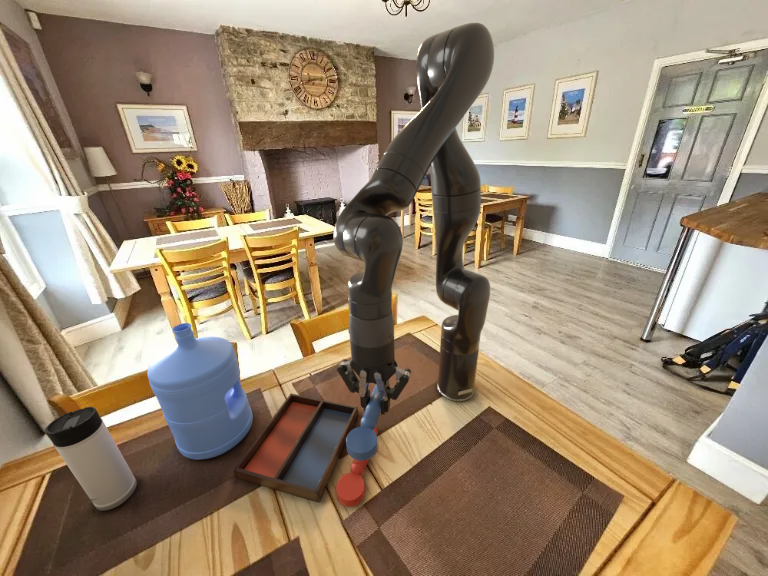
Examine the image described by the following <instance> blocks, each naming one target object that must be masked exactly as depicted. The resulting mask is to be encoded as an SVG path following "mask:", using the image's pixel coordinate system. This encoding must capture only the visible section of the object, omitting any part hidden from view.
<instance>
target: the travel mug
mask: <svg viewBox="0 0 768 576" xmlns="http://www.w3.org/2000/svg"><path fill="white" fill-rule="evenodd" d="M44 432H45V434H46V435H47V437H48V439H49V440H50V441H51V443H52V445H53V447H54V448H55V449H56V451H57V453H58V454H59V456H60V457H61V458H62V460H63V461H64V463H65V465H66V466H67V467H68V469H69V470H70V472H71V473H72V475H73V476H74V477H75V479H76V481H77V482H78V483H79V485H80V487H81V488H82V489H83V491H84V492H85V494H86V496H87V497H88V498H89V500H90V501H91V503H92V504H93V506H94V507H95V508H96V510H98V511H101V512H103V511H104V512H105V511H110V510H112V509H115V508H117V507H119V506H120V505H122V504H124V502H126V501H127V500H128V499H129V498H130V497H131V496H132V495H133V493H134V492H135V490H136V488H137V486H138V485H137V484H138V483H137V479H136V477H135V476H134V474H133V472H132V469H131V468H130V467H129V465H128V463H127V461H126V460H125V458H124V456H123V454H122V453H121V451H120V449H119V446H118V445H117V443H116V442H115V439H114V438H113V436H112V435H111V433H110V431H109V429H108V427H107V425H106V423H105V422H104V420H103V419H102V417H101V416H100V414H99V412H98V411H97V409H96V407H95V406H85V407H84V408H80V409H76V410H74V411H69V412H66V413H64V414H62V415H60V416H58V417H56V418H55V419H54V420H52V421H51V422H50V423H49V424H47V426H46V427H45V429H44Z"/></svg>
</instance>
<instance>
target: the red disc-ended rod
mask: <svg viewBox="0 0 768 576" xmlns="http://www.w3.org/2000/svg"><path fill="white" fill-rule="evenodd" d="M374 431H375V433H376V435H377V436H378V434H379V431H378V427H377V426H376V427H375V429H374ZM368 462H369V459H367V460H364V461H359V460H355V459H353V460H352V463H351V465H350V468H349V469H350V470H349V471H350V472H348V473H345V474H343V475H342V476H341V477H339V479H338V481H337V483H336V487H335V490H336V497H337V500H338V502H339V504H341V505H343V506H344V507H351V508H352V507H355V506H358V505H359V504H360V503H361V502H362V501H363V499H364V498H365V495H366V487H365V481H364V478H363V477H362V476H363V475H364V473H365V471H366V467H367V465H368Z"/></svg>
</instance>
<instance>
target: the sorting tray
mask: <svg viewBox="0 0 768 576" xmlns="http://www.w3.org/2000/svg"><path fill="white" fill-rule="evenodd" d="M358 417H359V407H358V406H356V405H351V404H345V403H340V402H336V401H330V400H326V399H321V398H316V397H311V396H306V395H301V394H295V393H290V394H289V395H288V396H287V398H286V399H285V401H284V402H283V403H282V404H281V406H280V407H279V408H278V410H277V411H276V413H274V415H273V416H272V417H271V419H270V420H269V422H268V423H267V424H266V425H265V427H264V428H263V429H262V431H261V432H260V434H258V436H257V437H256V439H255V440H254V441H253V442H252V444H251V445H250V446H249V448H248V449H247V450H246V452H245V453H244V455H243V456H242V457H241V459H240V460H239V461H238V462H237V463H236V465H235V467H234V468H233V469H232V470H233V474H234V476H235V479H236V480H241V481H244V482H248V483H250V484H251V483H252V484H254V485H257V486H261V487H265V488H268V489H271V490H275V491H278V492H281V493H285V494H287V495H291V496H294V497H299V498H302V499H305V500H307V501H311V502H315V503H320V501H321V499H322V497H323V495H324V492H325V490H326V488H327V486H328V484H329V481H330V479H331V477H332V475H333V472H334V470H335V468H336V465H337V463H338V461H339V459H340V456H341V455H342V452H343V450H344V448H345V446H346V438H347V436H348V434H349V433H350V431H352V430H353V429H354V425H355V424H356V422H357V419H358Z"/></svg>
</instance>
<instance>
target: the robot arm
mask: <svg viewBox="0 0 768 576" xmlns="http://www.w3.org/2000/svg"><path fill="white" fill-rule="evenodd" d="M494 46H495V45H494V41H493V37H492V34H491V32H490V31H489V29H488V28H487V27H486V26H485V25H484V24H483V23H480V22H468V23H464V24H461V25H458V26H455V27H452V28H450V29H447V30H444V31H442V32H439V33H436V34H434V35H433V34H432V35H430V36H428V37H427V38H425V39H424V40H423V41H422V43H421V44H420V46H419V48H418V51H417V55H416V61H415V63H416V64H415V71H416V72H415V73H416V75H415V76H416V85H417V91H418V92H417V93H418V97H419V103H420V108H421V110H420V111H419V112H418V113H417V114H416V115H415V116H414V117H412V119H410V120H409V122H408V123H406V125H404V126H403V128H401V130H400V131H399V132H398V133H397V134H395V137H393V138H392V140H391V141H390V143H389V144H388V146H387V147H386V149H385V150H384V153H383V155H382V157H380V160H379V162H378V164H377V166H376V168H375V169H374V172H373V174H372V176H371V177H370V179H369V181H367V182H366V184H364V185H363V187H361V189H360V190H358V192H357V193H356V194H355V195H354V196H353V198H352V199H351V200H350V201H349V202H348V203H347V205H346V206H345V207H344V208H343V209H342V211H341V212H340V214H339V216H338V218H337V219H336V222H335V225H334V228H333V235H332V236H333V238H332V239H333V243H334V246H335V248H336V250H337V251H338V252H339V253H341V254H342V255H344V256H345V257H348V258H351V259H355V260H358V261H361V262H363V263H364V270H363V271H359V272H356V273H354V274H353V275H351V276H350V277H349V279H348V280H347V302H348V334H349V345H350V355H351V358H350V360H347V359H346V358H343V359H342V360H341V361H340V363H339V365H338V366H337V368H336V371H337V372H338V374H339V376H340V378H341V379H342V381H343V382H344V384H345V386H346V387H347V389H348V391H349V392H350V393H352V394H355V393H357V394H358V396H359V400H360V407H361V409H363V412H365V409H366V407H367V405H368V402H369V400H370V397H371V389H369V386H370V384H374V385H376V384H377V388H378V391H379V392H380V396H381V400H380V404H381V413H380V415H384V416H385V415H386V413H388V412H389V410H390V408H391V400H393V401H396V400H398V398H399V396H400V395H401V394H402V392H403V391H404V389H405V387H406V386H407V384H409V381H410V377H411V374H412V370H411V369H410V368H408V367H407V368H405V369H404V368H401V367H399V366H398V362H397V361H396V359H395V358H396V357H395V319H394V313H393V285H394V282H395V277H396V274H397V270H398V266H399V262H400V259H401V255H402V251H403V247H404V245H403V244H404V240H403V233H402V230H401V228H400V226H399V223H398V222H397V221H396V220H395V219H394V218H393V217H391V216H388V215H390V214H391V213H394V212H401V211H404V210H406V209H408V208H409V207H410V206H411V205H412V202H413V201H414V199H415V197H416V195H417V193H418V191H419V189H420V188H421V185H422V183H423V181H424V179H425V178H426V176H427V173H428V171H430V189H431V201H432V202H431V203H432V212H433V219H434V231H435V232H434V233H435V251H436V252H435V256H436V257H435V258H436V260H435V261H436V262H435V291H436V295H437V297H438V299H439V300H440V301H441V302H442V303H443V304H445V305H447V306H448V307H450V308H452V309H455V310H456V311H457V312H458V314H453V315H450V316H447V317H445V318H444V319H443V320H442V322H441V326H440V327H441V328H440V346H439V360H438V361H439V362H438V363H439V364H438V376H437V385H436V386H437V392H439V394H440V395H441V396H442V397H443V398H445V399H446V400H449V401H450V402H456V403H457V402H458V403H460V402H466V401H469V400H470V399H471V398H473V396H474V395H475V383H476V376H477V367H478V359H479V352H480V351H479V350H480V343H481V334H482V331H483V328H484V326H485V324H486V319H487V313H488V307H489V303H490V299H491V297H490V296H491V284H490V283H491V282H490V281H489V279H488V278H487V277H486V276H484V275H482V274H479V273H477V272H474V271H472V270H468V269H466V268H465V267H464V258H463V257H464V255H463V254H464V246H465V243H466V241H467V239H468V237H469V235H470V234H471V232H472V231H473V230H474V228H475V226H476V224H477V222H478V220H479V217H480V215H481V209H482V208H481V207H482V197H481V196H482V185H481V184H482V182H481V176H480V175H481V174H480V173H479V169H478V167H477V165H476V163H475V161H474V160H473V158H472V156H471V155H470V153H469V152H468V150H467V148H466V147H465V145H464V142H463V141H462V139H461V138H460V135H459V133H458V130H457V126H458V125H459V124H460V122H461V121H462V120H463V118H464V117H465V115H466V114H467V113H468V111H469V110H470V108H471V107H472V106H473V105H474V103H475V102H476V101H477V99H478V98H479V96H480V95H481V93H482V92H483V91H484V88H485V87H486V85H488V82H489V80H490V78H491V75H492V72H493V68H494V61H495V47H494ZM394 375H395V380H396V383H395V384H394V385H393V387H391V385H390V379H391V378H392V377H393V376H394Z"/></svg>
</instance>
